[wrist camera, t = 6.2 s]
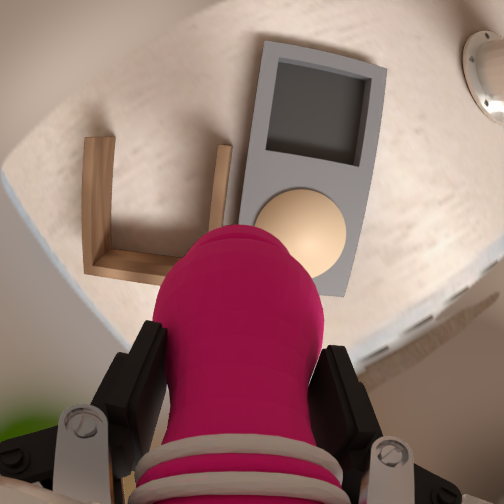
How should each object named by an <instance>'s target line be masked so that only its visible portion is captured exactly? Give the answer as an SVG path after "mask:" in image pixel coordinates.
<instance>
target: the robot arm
mask: <svg viewBox="0 0 504 504" xmlns="http://www.w3.org/2000/svg"><path fill="white" fill-rule="evenodd" d="M463 69H464V73H465V78H466V81H467V84H468V87H469V90H470V92H471V94H472V96H473V98H474V100H475V101H476V103H477V105H478V106H479V107H480V109H481V110H482V111H483V113H484V114H485V115H486V116H487V117H489V118H490V119H491V120H493V121H494V122H496V123H498V124H501V125H504V38H502V37H501V36H499V35H498V34H496V33H494V32H491V31H480V32H476V33H474V34H472V35H471V36H470V37H469V38H468V39H467V41H466V43H465V46H464V50H463ZM166 342H167V328H163V327H162V323H159V322H154V321H149V320H146V321H145V322H144V324H143V326H142V328H141V330H140V332H139V334H138V336H137V338H136V340H135V342H134V344H133V346H132V348H131V350H130V352H129V354H126V353H122V352H119V353H117V354H116V356H115V358H114V359H113V362H112V363H111V365H110V367H109V369H108V371H107V373H106V375H105V376H104V378H103V380H102V382H101V384H100V386H99V388H98V390H97V392H96V394H95V396H94V398H93V400H92V402H91V404H90V405H88V404H76V405H73V406H71V407H69V408H67V409H66V410H65V411H64V412H63V413H62V414H61V416H60V419H59V425H57V426H54V427H51V428H48V429H44V430H41V431H37V432H34V433H30V434H26V435H23V436H19V437H15V438H11V439H8V440H5V441H2V442H1V443H0V504H126V503H125V494H124V484H123V477H126V476H128V475H130V474H131V471H135V467H136V466H137V464H138V462H139V461H140V459H141V458H142V457H143V456H144V455H145V454H146V453H148V452H149V449H150V446H151V442H152V438H153V435H154V431H155V427H156V424H157V421H158V417H159V413H160V410H161V406H162V403H163V400H164V396H165V393H166V387H167V382H166V377H165V353H166ZM307 399H308V407H309V415H310V423H311V430H312V433H313V436H314V439H315V443H316V446H317V447H318V448H321V449H323V450H325V451H326V452H328V453H329V454H331V455H332V456H333V457H334V458H335V459H336V460H337V462H338V463H339V465H340V467H341V469H342V472H343V480H342V485H341V487H342V490H343V491H345V493H346V494H347V495H348V497H349V499H350V502H351V504H493V503H490V502H487V501H484V500H481V499H479V498H476V497H473V496H470V495H467V494H465V495H464V496H462V495H461V493H460V490H459V489H458V488H457V487H456V486H455V485H454V484H452V483H451V482H449V481H447V480H445V479H443V478H441V477H439V476H437V475H435V474H433V473H431V472H429V471H427V470H425V469H424V468H422V467H420V466H418V465H416V464H414V463H413V453H412V450H411V448H410V447H409V445H408V444H407V443H406V442H405V441H403V440H401V439H399V438H397V437H393V436H384V437H383V435H382V431H381V429H380V426H379V423H378V421H377V418H376V415H375V413H374V410H373V407H372V405H371V402H370V400H369V397H368V394H367V392H366V389H365V387H364V385H363V383H361V382H359V381H358V378H357V376H356V373H355V371H354V368H353V366H352V363H351V360H350V358H349V355H348V353H347V350H346V348H345V347H344V346H336V345H328V347H327V349H322V351H321V353H320V356H319V359H318V362H317V365H316V367H315V370H314V373H313V376H312V378H311V381H310V384H309V386H308V396H307Z"/></svg>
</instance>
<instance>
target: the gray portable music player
mask: <svg viewBox="0 0 504 504" xmlns="http://www.w3.org/2000/svg"><path fill="white" fill-rule="evenodd" d="M386 76H387V69H386V68H383V67H380V66H377V65H373V64H370V63H367V62H363V61H360V60H356V59H353V58H349V57H345V56H341V55H337V54H333V53H329V52H325V51H320V50H316V49H311V48H306V47H301V46H296V45H290V44H285V43H279V42H272V41H265V40H264V45H263V51H262V58H261V65H260V71H259V78H258V85H257V91H256V98H255V105H254V112H253V119H252V126H251V133H250V140H249V147H248V154H247V161H246V169H245V176H244V183H243V191H242V198H241V206H240V213H239V221H238V224H241V225H250V226H254V227H258V228H261V229H263V230H265V231H267V232H269V233H271V234H272V235H274V236H275V237H276V238H278V239H279V240H280V241H281V242H282V243H283V245H284V246H285V247H286V248H287V250H288V251H289V253H290V255H291V256H292V257H294V258H295V259H296V260H297V261H298V262H299V263H300V264H301V265H302V266H303V267H304V268H305V270H306V271H307V272H308V273H309V274H310V276H311V278H312V280H313V282H314V283H315V285H316V288H317V291H318V294H319V295H324V296H335V297H344V296H345V292H346V289H347V285H348V281H349V277H350V274H351V270H352V266H353V262H354V258H355V254H356V250H357V246H358V241H359V237H360V233H361V228H362V224H363V219H364V215H365V210H366V205H367V200H368V195H369V190H370V185H371V180H372V174H373V169H374V163H375V157H376V151H377V145H378V139H379V132H380V125H381V118H382V111H383V103H384V95H385V86H386Z"/></svg>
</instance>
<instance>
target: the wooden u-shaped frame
mask: <svg viewBox="0 0 504 504" xmlns="http://www.w3.org/2000/svg"><path fill="white" fill-rule="evenodd" d="M115 138H116V137H85V142H84V156H83V174H82V246H83V265H84V274H88V275H94V276H100V277H106V278H112V279H119V280H125V281H132V282H138V283H145V284H152V285H159V286H161V284H162V282H163V280H164V278H165V277H166V275H167V273H168V272H169V271H170V270H171V269H172V267H173V266H174V265H175V264H176V263H177V262H178V261H179V260H180V259H181V258H178V257H170V256H163V255H155V254H147V253H140V252H132V251H124V250H117V249H111V199H112V177H113V162H114V149H115ZM232 148H233V146H231V145H223V144H222V145H218V150H217V158H216V166H215V174H214V183H213V191H212V200H211V209H210V219H209V228H208V232H210V231H212V230H214V229H216V228H220V227H223V219H224V211H225V203H226V194H227V186H228V178H229V171H230V163H231V155H232Z"/></svg>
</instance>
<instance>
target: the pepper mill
mask: <svg viewBox="0 0 504 504" xmlns="http://www.w3.org/2000/svg"><path fill="white" fill-rule="evenodd" d="M153 321H154V322H159V323H162V327H163V328H167V342H166V353H165V377H166V382H167V385H168V389H169V395H170V413H169V419H168V426H167V430H166V433H165V436H164V439H163V441H162V444H161V446H158V447H156V448H155V449H153V450H151V451H149V452H148V453H146V454H145V455H144V456H143V457H142V458H141V459H140V461H139V462H138V464H137V466H136V467H135V475H134V476H135V482H136V489H135V490H134V491H133V492H132V493H131V495H130V496H129V499H128V504H351V502H350V499H349V497H348V495H347V494H346V493H345V491H343V490H342V487H341V485H342V480H343V472H342V469H341V467H340V465H339V463H338V462H337V460H336V459H335V458H334V457H333V456H332V455H331V454H329V453H328V452H326V451H325V450H323V449H321V448H318V447H317V446H316V443H315V439H314V436H313V433H312V430H311V423H310V415H309V407H308V399H307V396H308V385H309V381H310V378H311V376H312V373H313V371H314V368H315V365H316V363H317V360H318V357H319V354H320V351H321V348H322V341H323V331H324V314H323V308H322V304H321V301H320V297H319V294H318V291H317V288H316V285H315V283H314V282H313V280H312V278H311V276H310V274H309V273H308V272H307V271H306V270H305V268H304V267H303V266H302V265H301V264H300V263H299V262H298V261H297V260H296V259H295V258H294V257H292V256H291V255H290V253H289V251H288V250H287V248H286V247H285V246H284V245H283V243H282V242H281V241H280V240H279V239H278V238H276V237H275V236H274V235H272V234H271V233H269V232H267V231H265V230H263V229H261V228H258V227H254V226H250V225H241V224H237V225H227V226H223V227H220V228H216V229H214V230H212V231H210V232H208V233H206V234H205V235H203V236H202V237H201V238H200V239H198V240H197V241H196V242H195V243H194V244H193V246H192V247H191V248H190V250H189V251H188V253H187V254H186V255H185V256H184V257H183V258H181V259H180V260H179V261H178V262H177V263H176V264H175V265H174V266H173V267H172V269H171V270H170V271H169V272H168V273H167V275H166V277H165V278H164V280H163V282H162V284H161V286H160V289H159V292H158V295H157V299H156V304H155V308H154V313H153Z"/></svg>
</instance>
